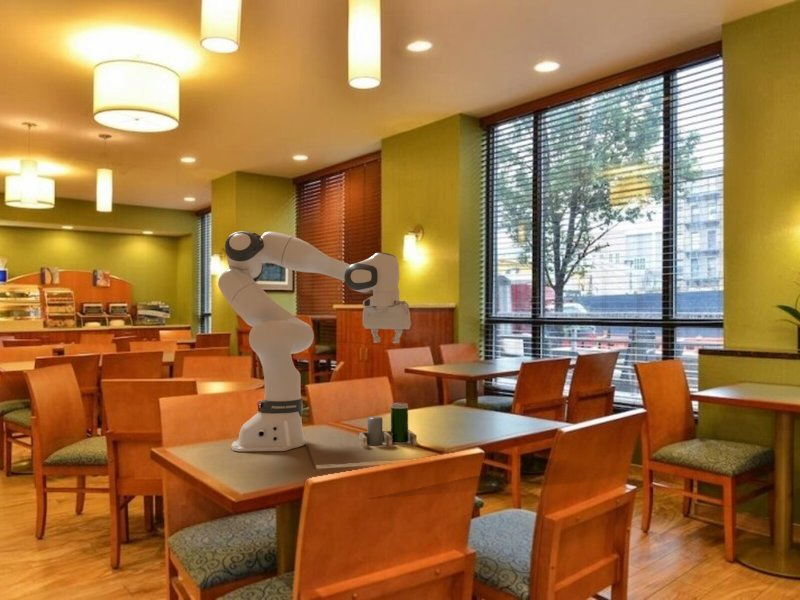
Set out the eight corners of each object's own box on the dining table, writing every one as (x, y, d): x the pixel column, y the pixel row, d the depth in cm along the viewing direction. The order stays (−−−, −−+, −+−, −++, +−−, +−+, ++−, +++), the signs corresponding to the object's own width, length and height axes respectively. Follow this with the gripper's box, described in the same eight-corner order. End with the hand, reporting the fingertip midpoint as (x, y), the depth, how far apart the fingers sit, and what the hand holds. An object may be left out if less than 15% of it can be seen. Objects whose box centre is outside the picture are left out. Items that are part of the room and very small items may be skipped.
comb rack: (363, 451, 176) (363, 438, 176) (358, 445, 185) (358, 432, 185) (416, 448, 180) (416, 435, 180) (409, 442, 188) (409, 429, 189)
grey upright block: (368, 446, 179) (368, 419, 179) (366, 443, 183) (366, 416, 183) (383, 445, 180) (383, 418, 180) (380, 442, 184) (380, 416, 184)
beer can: (395, 445, 179) (394, 405, 180) (388, 442, 184) (387, 403, 184) (411, 444, 181) (411, 404, 182) (403, 440, 186) (403, 402, 187)
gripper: (415, 300, 193) (415, 343, 193) (373, 301, 208) (373, 341, 208) (401, 300, 189) (401, 344, 189) (359, 301, 204) (359, 342, 203)
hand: (386, 342), depth 198 cm, fingers open, 8 cm apart
